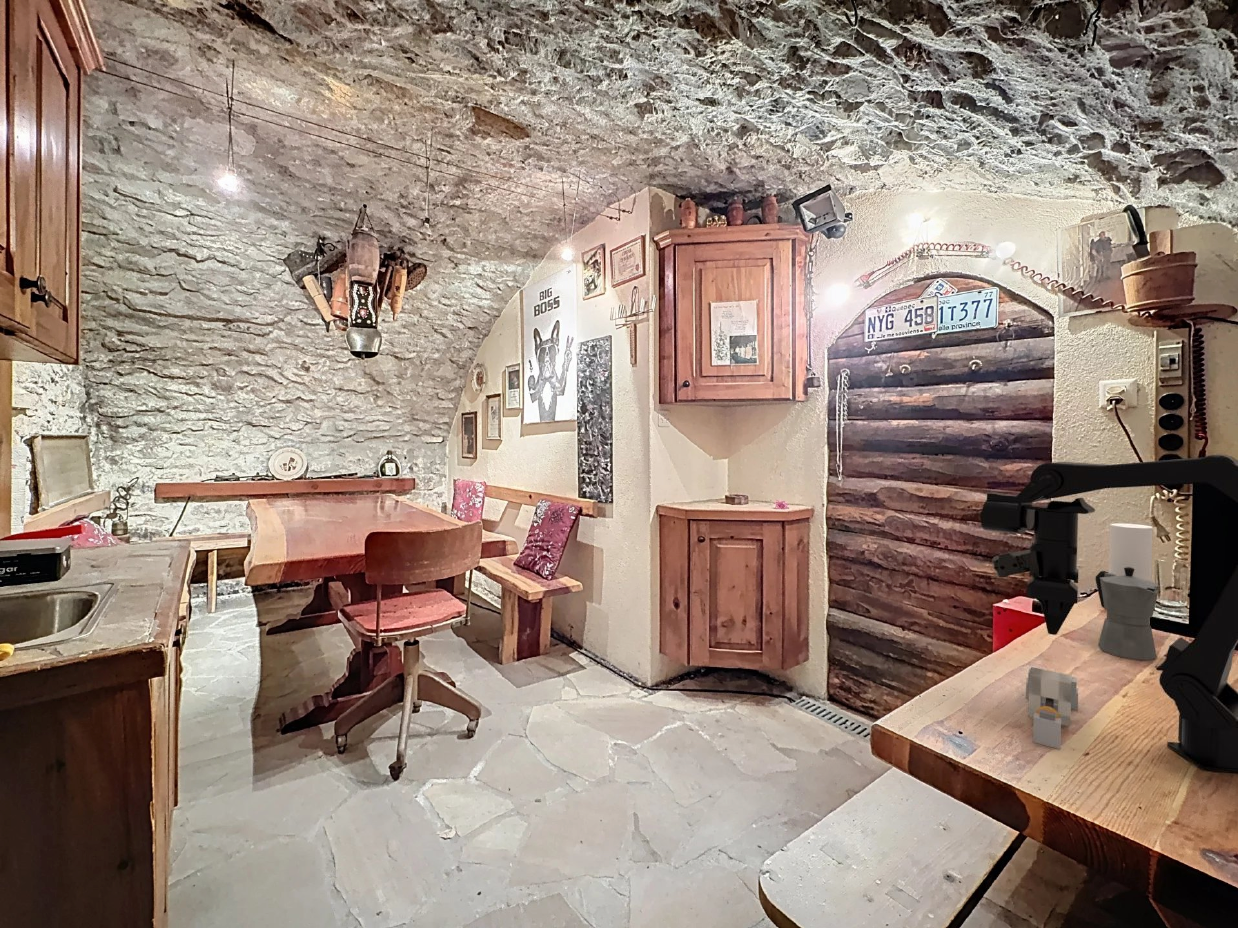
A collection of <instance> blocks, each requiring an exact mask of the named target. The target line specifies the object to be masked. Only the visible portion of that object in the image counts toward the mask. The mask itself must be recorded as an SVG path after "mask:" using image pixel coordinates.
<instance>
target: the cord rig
mask: <svg viewBox="0 0 1238 928" xmlns="http://www.w3.org/2000/svg"><path fill="white" fill-rule="evenodd" d="M1030 670H1031V667H1029V669H1028V672H1027V674H1028V675H1027V679H1026V682H1025V683H1026V684H1025V685H1026V687H1025V699H1028V700H1029V674H1030ZM1077 679H1078V678H1077V677H1075V676H1072V678H1071V710H1075V711H1078V710H1079V688H1077V682H1078V681H1077ZM1042 701H1045V706H1041V707H1039V708H1038V709H1037V711H1036V713H1035V712H1034V718H1033V722H1032V723H1033V725H1032V726H1033V727H1032V728H1033V729H1032V730H1033V731H1032V732H1033V734H1032V742H1033V743H1036V744H1039V745H1044V746H1046V747H1051V748H1053V749H1058V750H1061V743H1062V742H1061V740H1062V739H1061V737H1062V736H1061V735H1062V724H1061V719H1060V717H1059V714H1058V712H1057V711H1056V710H1055V709H1053V703H1054V704H1058V700H1056V699H1051V698H1047V697H1042Z"/></svg>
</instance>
